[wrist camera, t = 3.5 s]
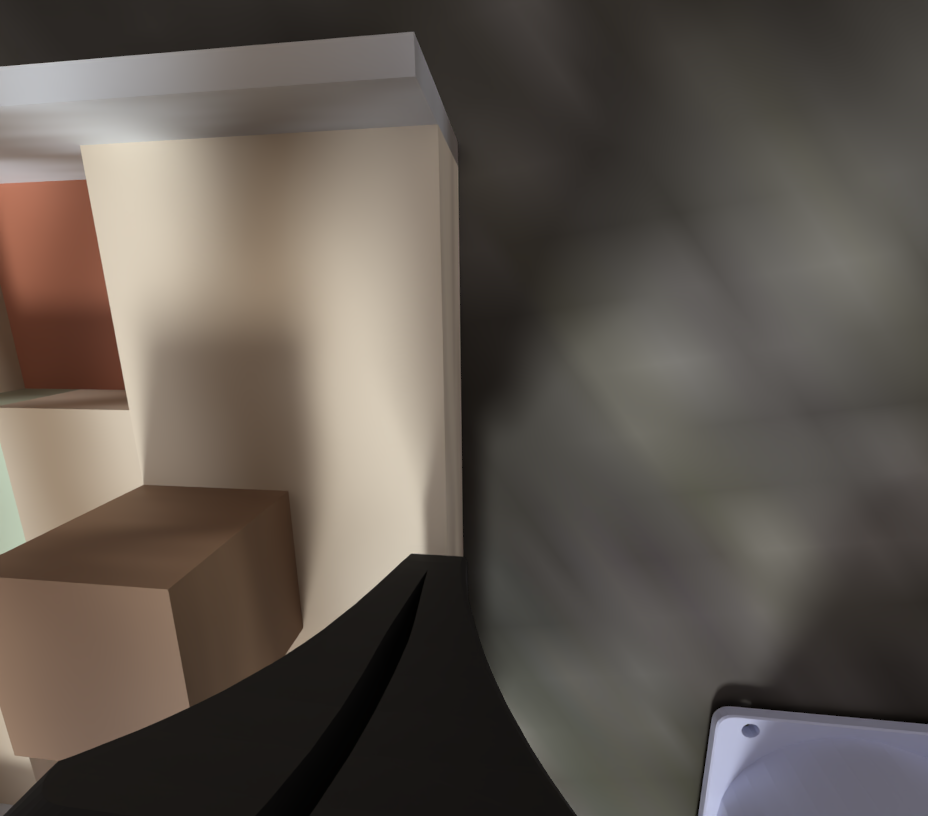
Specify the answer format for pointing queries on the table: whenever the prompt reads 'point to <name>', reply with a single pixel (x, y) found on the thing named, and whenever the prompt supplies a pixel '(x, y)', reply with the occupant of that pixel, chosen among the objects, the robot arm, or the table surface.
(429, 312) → the board
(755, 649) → the table surface
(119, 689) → the walnut block
